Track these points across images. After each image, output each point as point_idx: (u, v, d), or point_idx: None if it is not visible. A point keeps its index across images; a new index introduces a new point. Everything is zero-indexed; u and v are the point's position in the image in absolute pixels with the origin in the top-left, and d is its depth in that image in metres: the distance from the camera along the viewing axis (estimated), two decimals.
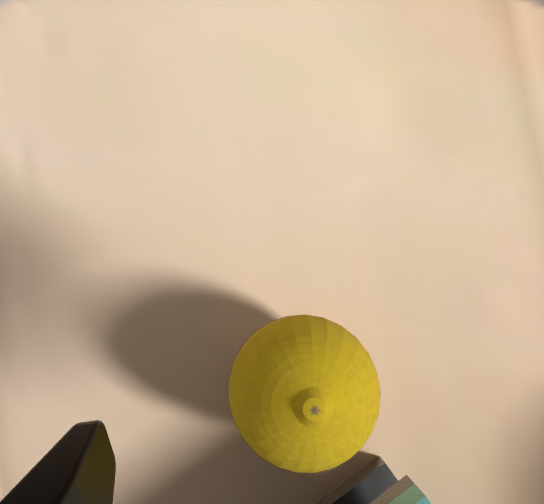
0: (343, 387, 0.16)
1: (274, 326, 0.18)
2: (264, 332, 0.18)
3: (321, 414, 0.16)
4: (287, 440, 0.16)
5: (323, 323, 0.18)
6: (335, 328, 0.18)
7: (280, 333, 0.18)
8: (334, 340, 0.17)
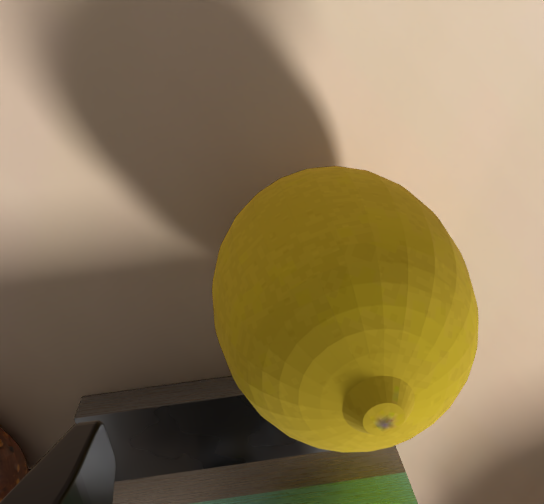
0: (440, 392, 0.09)
1: (367, 204, 0.10)
2: (344, 205, 0.10)
3: (390, 431, 0.08)
4: (302, 420, 0.09)
5: (447, 243, 0.10)
6: (460, 261, 0.10)
7: (381, 236, 0.09)
8: (463, 297, 0.09)
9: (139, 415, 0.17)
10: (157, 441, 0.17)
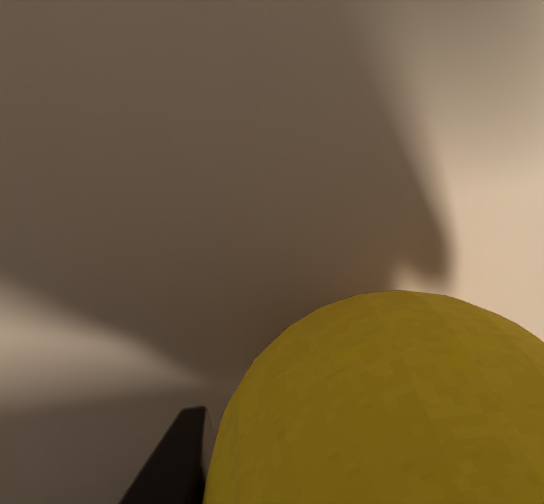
0: None
1: (531, 449, 0.04)
2: (483, 451, 0.04)
3: None
4: None
5: None
6: None
7: None
8: None
9: None
10: None
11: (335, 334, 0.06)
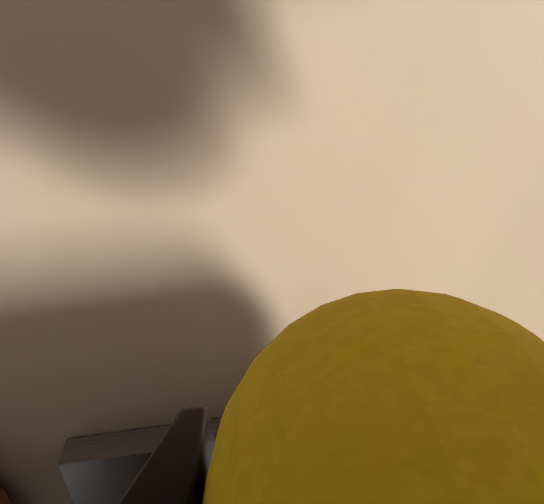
0: None
1: (530, 446, 0.04)
2: (482, 448, 0.04)
3: None
4: None
5: None
6: None
7: None
8: None
9: (129, 461, 0.15)
10: None
11: (335, 332, 0.06)
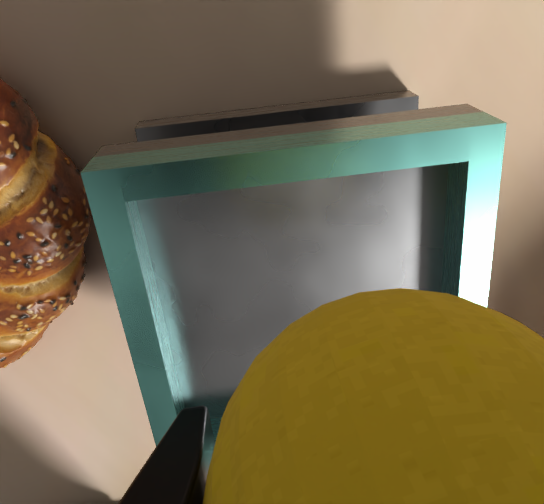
0: None
1: (534, 447, 0.04)
2: (485, 449, 0.04)
3: None
4: None
5: None
6: None
7: None
8: None
9: (199, 129, 0.16)
10: None
11: (336, 332, 0.06)
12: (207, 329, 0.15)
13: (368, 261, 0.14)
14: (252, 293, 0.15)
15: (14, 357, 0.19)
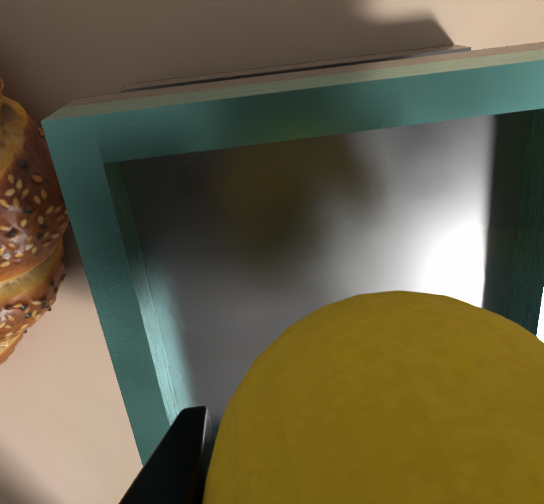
0: None
1: (532, 450, 0.04)
2: (484, 452, 0.04)
3: None
4: None
5: None
6: None
7: None
8: None
9: None
10: None
11: (335, 334, 0.06)
12: (214, 338, 0.12)
13: (421, 248, 0.11)
14: (272, 291, 0.11)
15: None
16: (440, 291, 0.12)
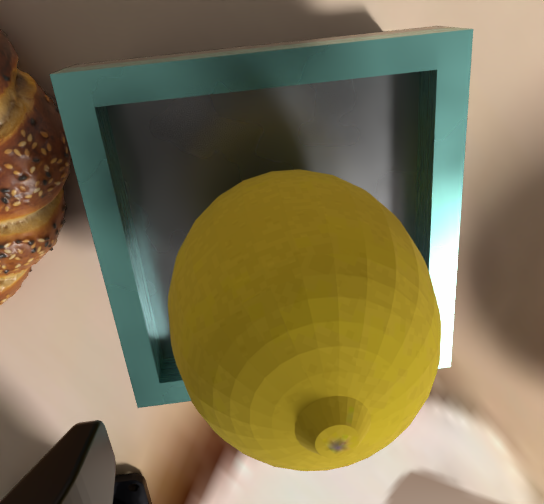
0: (398, 412, 0.08)
1: (328, 213, 0.09)
2: (304, 213, 0.09)
3: (344, 454, 0.08)
4: (254, 439, 0.09)
5: (411, 255, 0.09)
6: (424, 273, 0.10)
7: (340, 247, 0.08)
8: (424, 312, 0.09)
9: None
10: None
11: (247, 183, 0.11)
12: None
13: None
14: None
15: None
16: None
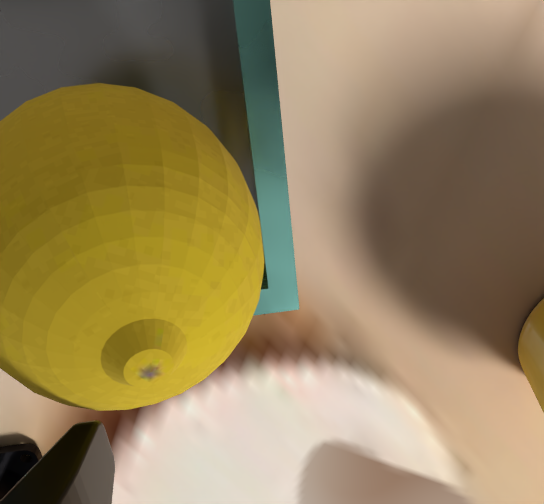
0: (217, 328, 0.08)
1: (118, 121, 0.08)
2: (90, 124, 0.08)
3: (159, 380, 0.07)
4: (61, 384, 0.08)
5: (220, 163, 0.09)
6: (237, 182, 0.09)
7: (131, 156, 0.07)
8: (235, 220, 0.08)
9: None
10: None
11: (30, 100, 0.09)
12: None
13: None
14: None
15: None
16: None
